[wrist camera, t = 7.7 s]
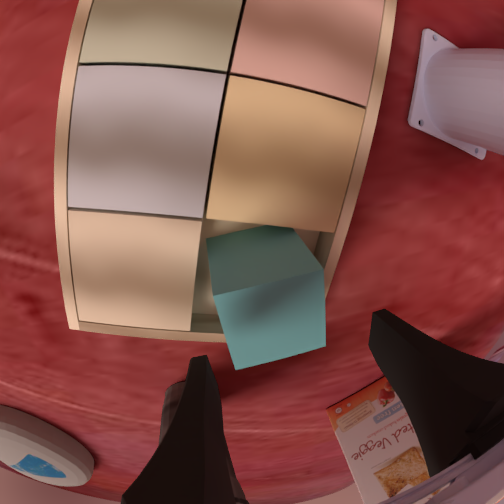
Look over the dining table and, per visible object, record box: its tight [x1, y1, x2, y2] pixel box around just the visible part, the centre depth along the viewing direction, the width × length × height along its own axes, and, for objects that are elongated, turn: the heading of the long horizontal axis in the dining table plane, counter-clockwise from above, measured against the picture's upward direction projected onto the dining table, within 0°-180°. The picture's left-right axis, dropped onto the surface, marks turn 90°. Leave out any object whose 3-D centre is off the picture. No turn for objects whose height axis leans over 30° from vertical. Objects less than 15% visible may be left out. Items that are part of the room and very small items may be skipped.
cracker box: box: [326, 376, 504, 504], centre depth 23 cm, size 14×6×21 cm, turn 120°
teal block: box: [206, 225, 326, 370], centre depth 17 cm, size 5×5×6 cm
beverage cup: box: [159, 382, 249, 504], centre depth 17 cm, size 7×7×20 cm
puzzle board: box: [54, 0, 397, 342], centre depth 16 cm, size 24×16×3 cm
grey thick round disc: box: [0, 405, 94, 486], centre depth 26 cm, size 18×18×5 cm
